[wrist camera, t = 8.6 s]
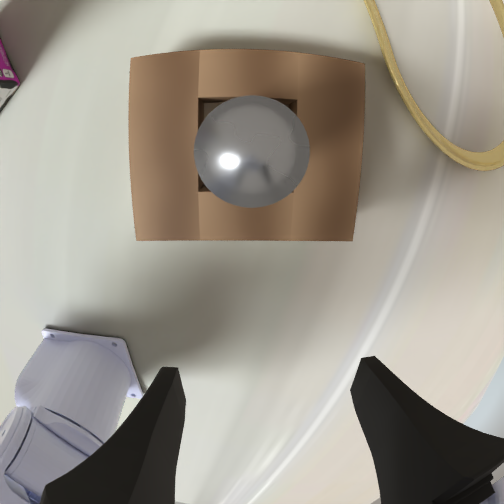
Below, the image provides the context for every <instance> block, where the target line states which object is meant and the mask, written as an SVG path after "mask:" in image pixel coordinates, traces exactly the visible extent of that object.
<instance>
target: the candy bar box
mask: <svg viewBox="0 0 504 504" xmlns="http://www.w3.org/2000/svg"><path fill="white" fill-rule="evenodd" d="M19 85H20V82H19V80H18V78H17V76H16V74H15V72H14V69H13V67H12V65H11V63H10V61H9V58H8V56H7V54H6V52H5V49H4V47H3V44H2V42H1V39H0V111H1V110H2V108H3V107H4V105H5V104H6V103H7V102H8V100H9V99H10V98H11V96H12V95H13V94H14V92H15V91H16V89H17V88H18V87H19Z"/></svg>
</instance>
